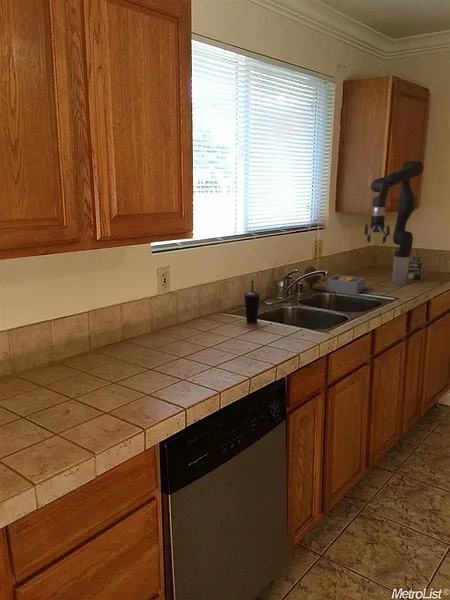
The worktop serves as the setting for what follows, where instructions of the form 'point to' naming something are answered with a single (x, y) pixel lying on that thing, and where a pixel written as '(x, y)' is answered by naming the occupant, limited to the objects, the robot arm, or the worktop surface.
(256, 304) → the drinking cup
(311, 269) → the ice cream bowl
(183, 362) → the worktop surface
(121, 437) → the worktop surface
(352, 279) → the orange crate
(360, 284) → the charcoal crate
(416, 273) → the chalk box
